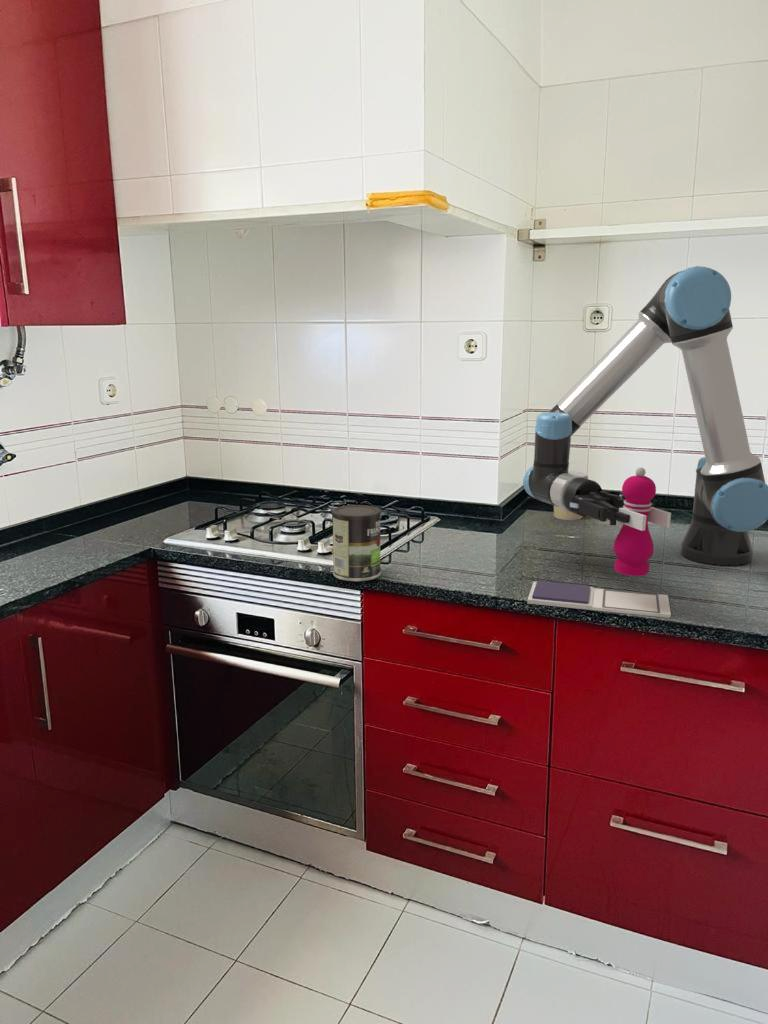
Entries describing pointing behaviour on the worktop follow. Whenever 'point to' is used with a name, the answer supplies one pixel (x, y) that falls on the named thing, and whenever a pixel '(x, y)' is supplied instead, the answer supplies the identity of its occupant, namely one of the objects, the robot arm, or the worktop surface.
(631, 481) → the pepper mill
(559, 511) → the coffee cup
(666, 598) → the board
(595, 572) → the worktop surface
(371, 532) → the coffee can
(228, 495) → the worktop surface
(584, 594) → the ink pad
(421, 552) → the worktop surface
